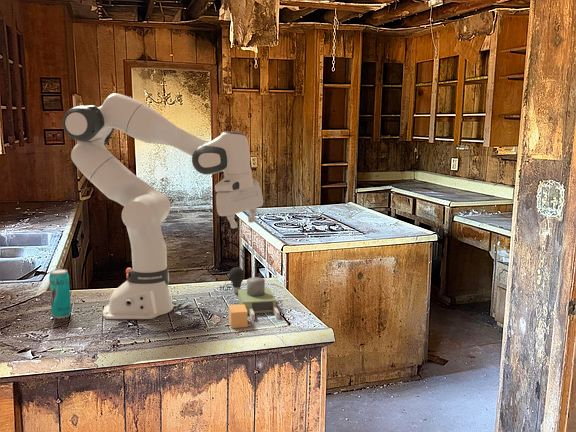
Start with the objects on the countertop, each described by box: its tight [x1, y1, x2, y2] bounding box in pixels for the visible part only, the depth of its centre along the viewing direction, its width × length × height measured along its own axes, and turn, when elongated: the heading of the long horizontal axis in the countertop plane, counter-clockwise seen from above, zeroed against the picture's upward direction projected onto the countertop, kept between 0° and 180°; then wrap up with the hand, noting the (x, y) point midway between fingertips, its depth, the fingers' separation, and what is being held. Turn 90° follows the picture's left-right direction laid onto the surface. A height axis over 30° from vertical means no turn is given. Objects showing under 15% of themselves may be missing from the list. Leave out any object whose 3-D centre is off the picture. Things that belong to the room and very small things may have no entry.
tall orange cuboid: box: [228, 304, 249, 329], centre depth 167 cm, size 5×7×5 cm
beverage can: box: [48, 268, 72, 320], centre depth 171 cm, size 6×6×15 cm
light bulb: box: [228, 266, 245, 295], centre depth 196 cm, size 6×6×10 cm
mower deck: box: [237, 276, 281, 322], centre depth 179 cm, size 11×20×9 cm, turn 12°
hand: (243, 225), depth 172 cm, fingers open, 8 cm apart
